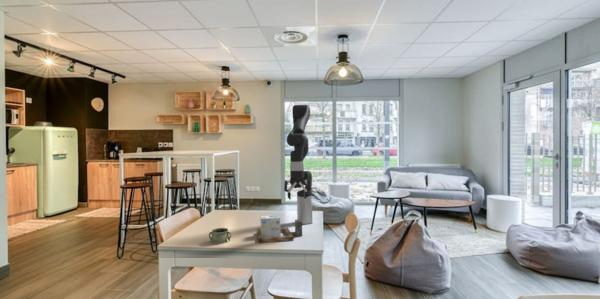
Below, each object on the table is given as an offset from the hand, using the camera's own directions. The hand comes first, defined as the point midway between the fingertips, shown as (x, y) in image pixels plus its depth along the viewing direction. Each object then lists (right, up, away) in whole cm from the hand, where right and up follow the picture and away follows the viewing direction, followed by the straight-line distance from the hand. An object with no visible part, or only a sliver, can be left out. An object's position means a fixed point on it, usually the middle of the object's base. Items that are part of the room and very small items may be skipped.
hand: (297, 198), depth 174 cm
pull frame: (-10, -20, -2) cm, 22 cm away
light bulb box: (-15, -21, 0) cm, 25 cm away
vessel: (-40, -21, -10) cm, 46 cm away
